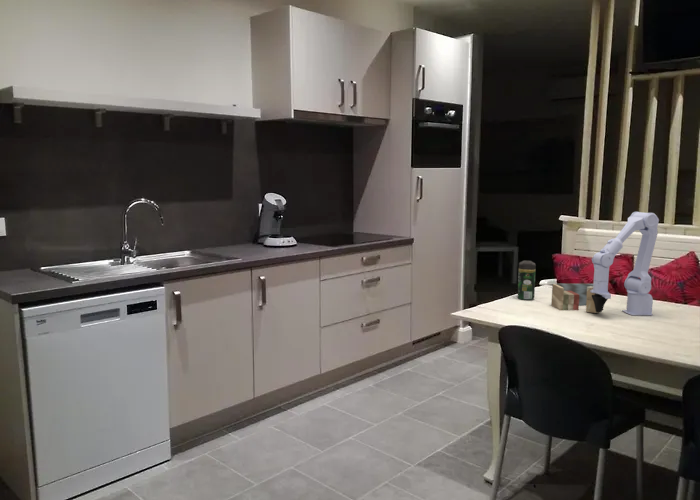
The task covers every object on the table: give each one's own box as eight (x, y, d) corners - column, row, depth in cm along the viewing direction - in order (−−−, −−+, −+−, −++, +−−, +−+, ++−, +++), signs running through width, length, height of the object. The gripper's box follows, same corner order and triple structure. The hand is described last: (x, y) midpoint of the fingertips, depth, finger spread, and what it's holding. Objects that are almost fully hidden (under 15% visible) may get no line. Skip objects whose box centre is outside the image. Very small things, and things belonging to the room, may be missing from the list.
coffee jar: (517, 296, 274) (518, 259, 272) (533, 297, 272) (535, 260, 269) (517, 300, 265) (519, 261, 262) (534, 301, 263) (536, 262, 260)
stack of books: (593, 305, 255) (594, 283, 254) (603, 310, 245) (605, 288, 244) (550, 304, 255) (551, 283, 254) (559, 310, 245) (560, 288, 243)
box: (585, 312, 240) (586, 286, 240) (589, 311, 243) (589, 286, 243) (598, 313, 237) (598, 287, 236) (601, 312, 240) (601, 286, 240)
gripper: (584, 277, 240) (582, 307, 242) (599, 283, 226) (597, 316, 228) (599, 277, 241) (597, 308, 242) (616, 283, 226) (614, 316, 228)
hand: (598, 311), depth 235 cm, fingers closed
